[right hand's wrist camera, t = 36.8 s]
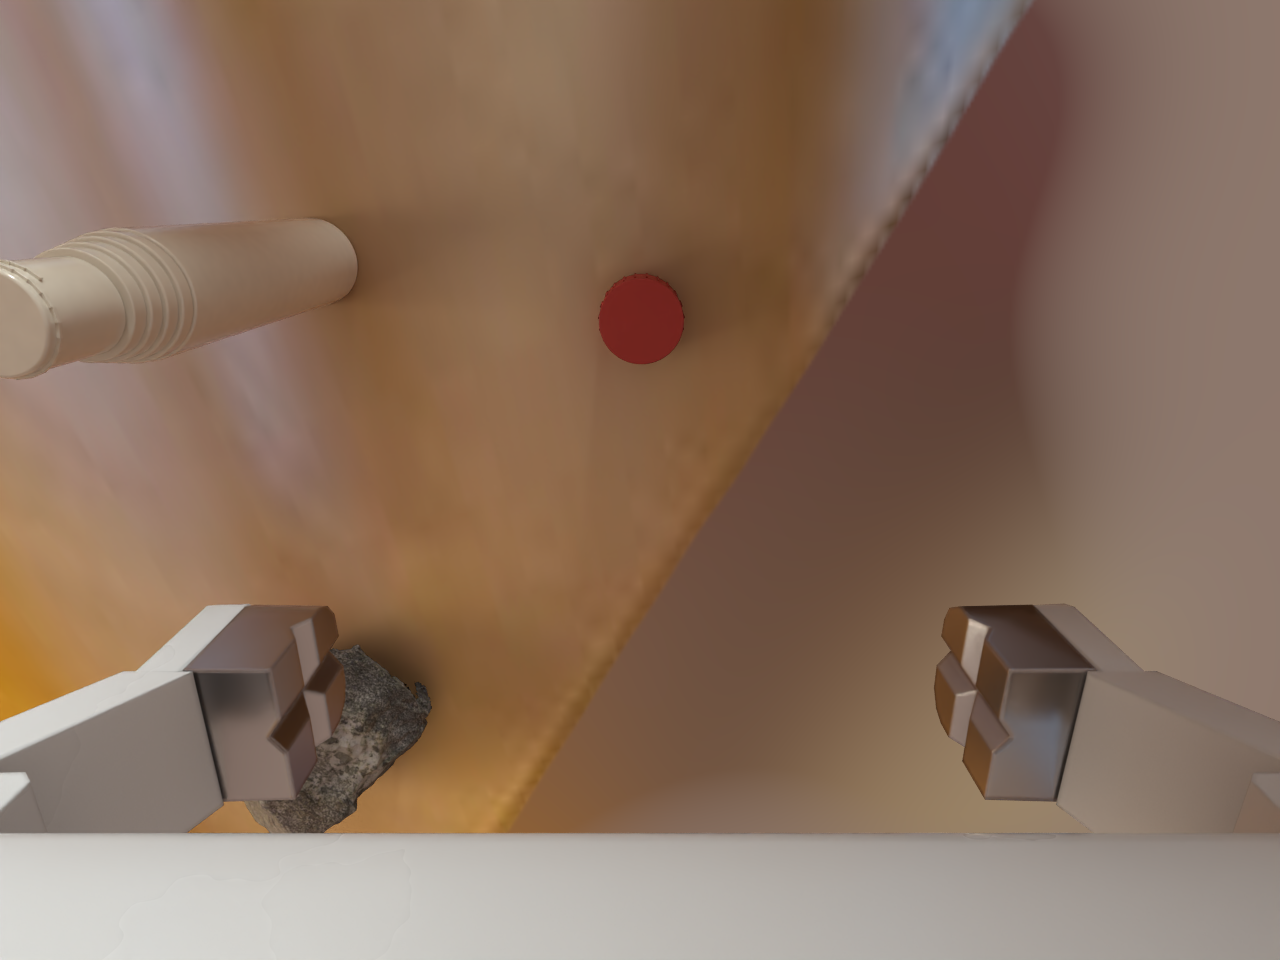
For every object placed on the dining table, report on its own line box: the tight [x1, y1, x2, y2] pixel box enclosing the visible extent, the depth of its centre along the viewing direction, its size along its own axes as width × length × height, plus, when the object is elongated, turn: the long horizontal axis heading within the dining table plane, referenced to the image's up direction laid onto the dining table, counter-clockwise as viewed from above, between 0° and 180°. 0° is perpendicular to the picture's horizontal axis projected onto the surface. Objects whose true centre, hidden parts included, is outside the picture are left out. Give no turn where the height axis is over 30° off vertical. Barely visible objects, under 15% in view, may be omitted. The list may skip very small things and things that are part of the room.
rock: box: [244, 645, 432, 833], centre depth 44 cm, size 13×9×6 cm, turn 147°
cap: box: [598, 273, 685, 364], centre depth 38 cm, size 4×4×2 cm
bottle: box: [0, 218, 358, 380], centre depth 29 cm, size 4×4×20 cm
